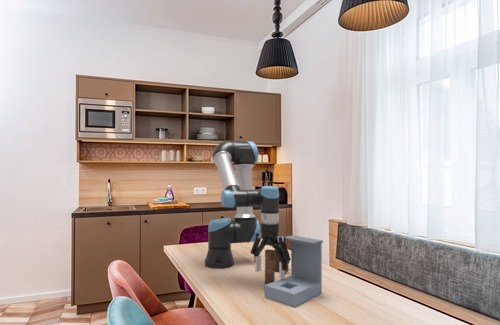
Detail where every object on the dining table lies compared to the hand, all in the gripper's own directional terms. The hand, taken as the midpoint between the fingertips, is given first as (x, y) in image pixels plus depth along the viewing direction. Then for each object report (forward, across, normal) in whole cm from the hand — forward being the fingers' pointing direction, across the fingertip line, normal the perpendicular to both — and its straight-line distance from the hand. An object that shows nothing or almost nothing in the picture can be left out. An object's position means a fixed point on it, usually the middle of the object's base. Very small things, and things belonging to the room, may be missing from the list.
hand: (269, 274), depth 142 cm
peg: (+5, 0, 0) cm, 5 cm away
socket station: (+5, +13, -1) cm, 14 cm away
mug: (+5, -9, +21) cm, 23 cm away
